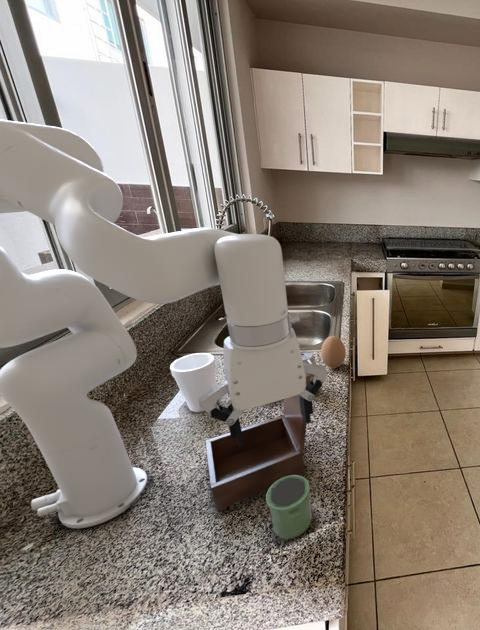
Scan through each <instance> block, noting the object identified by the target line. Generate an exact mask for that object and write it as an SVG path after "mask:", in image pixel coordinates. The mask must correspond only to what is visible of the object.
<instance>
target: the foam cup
mask: <svg viewBox="0 0 480 630" xmlns="http://www.w3.org/2000/svg"><path fill="white" fill-rule="evenodd" d="M216 366H217V365H216V360H215V356H214V355H213V354H211V353H206V352H197V353H192V354H191V353H190V354H187V355H184V356H182V357H179V358H177V359H175V360H174V361H173V362H172V363H170V366H169V370H170V374H171V376H172V378H173V379H174V380H175V382H176V384H177V387H178V388H179V390H180V393H181V395H182V397H183V400H184V401H185V403H186V405H187V407H188V409H189V410H190V411H191V412H192V413H193V412H194V413H201V412H205V411H204V410H203V409H202V408H201V407H200V406H199V398H200V397H202V396H203V395H204V394H206V393H207V392H209V391H210V390H212V389H213V388H215V387H216V386H217V380H216V379H217V377H216ZM215 403H216V404H218V400H217V401H216V402H215Z"/></svg>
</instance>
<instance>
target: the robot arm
mask: <svg viewBox="0 0 480 630" xmlns="http://www.w3.org/2000/svg"><path fill="white" fill-rule="evenodd" d="M123 206H124V196H123V192H122V190H121V188H120V186H119V184H118V183H117V182H116V181H115V180H114V179H113V178H112V177H110V176H109V175H108V174H106V173H105V168H104V164H103V161H102V158H101V157H100V155H99V153H98V151H96V148H94V146H93V145H92V144H90V143H89V142H88V141H87V140H86V139H84V138H83V137H82V136H81V135H79V134H77V133H75V132H73V131H71V130H68V129H66V128H63V127H58V126H53V125H45V124H38V123H37V124H36V123H30V122H22V121H13V120H7V119H0V214H9V213H23V212H28V213H30V214H31V215H33V216H36V217H38V218H40V219H41V220H43V221H45V222H48V223H49V224H51V225H53V226H54V228H55V232H56V236H57V239H58V242H59V243H60V245H61V247H62V249H63V251H64V253H65V254H66V255H67V256H68V258H69V259H70V260H71V262H73V264H74V265H75V266H76V267H77V269H78V270H80V271H81V272H83V273H84V274H85V275H86V276H88V277H90V278H91V279H93V280H94V281H97V282H98V283H100V284H102V285H104V286H106V287H108V288H110V289H112V290H114V291H115V292H118V293H120V294H122V295H125V296H126V297H129V298H131V299H134V300H137V301H140V302H144V303H147V304H155V305H165V304H172V303H175V302H177V301H179V300H182V299H185V298H188V297H190V296H191V295H192V296H193V295H194V294H197V293H199V292H201V291H203V290H206V289H209V288H213V287H215V286H219V285H220V289H221V290H220V291H221V296H222V301H223V308H224V313H225V317H226V324H227V325H226V326H227V329H228V335H229V336H227V337H226V338H225V339H224V340H223V367H224V374H225V379H224V380H223V381H222V382H221V383H219V384H217V385H216V387H215V388H213V389H212V390H210V391H209V392H207V393H206V394H204V395H203V396H202V397H200V398H199V406H200V407H201V408H202V409H203V410H204V411H203V412H205V413H207V414H208V415H210V417H211V418H212V419H214V420H218V421H220V422H223V423H225V425H226V426H227V427H228V429H229V433H230V435H231V439H232V440H233V439H236V438H237V441H238V445H239V446H242V445H243V444H244V441H243V435H242V430H241V429H242V426H241V421H240V416H241V415H242V414H243V412H244V411H247V410H251V409H254V408H259V407H261V406H265V405H269V404H271V403H272V404H273V403H276V402H279V401H281V400H284V399H286V398H289V397H292V396H296V395H299V400H300V410H301V415H302V417H303V419H304V421H305V422H306V424H310V423H312V422H311V421H312V420H311V415H313V414H314V406H313V400H315V395H316V394H317V393H318V391H320V389H321V388H322V386H323V382H324V381H325V379H326V376H327V374H328V369H327V368H326V367H325V366H324V365H321V364H316V365H315V364H310V363H305V362H303V360H302V355H301V352H302V350H301V348H300V344H299V341H298V337H297V334H296V331H295V330H294V328H293V326H294V325H296V324H300V323H301V318H300V314H299V313H290V312H289V307H288V298H287V290H286V289H287V288H286V287H287V286H286V279H285V278H286V277H285V269H284V261H283V259H284V258H283V251H282V246H281V244H280V242H279V240H277V239H276V238H275V237H274V236H272V235H271V236H270V235H267V234H262V233H260V234H259V233H241V234H239V233H235V232H231V231H227V230H223V229H219V228H214V227H196V228H190V229H186V230H181V231H180V230H177V231H173V232H168V233H163V234H155V235H152V236H147V237H143V236H141V235H137V234H135V233H133V232H131V231H129V230H127V229H125V228H123V227H120V226H119V225H117V224H115V223H116V222H117V221H118V219H119V218H120V215H121V213H122V211H123ZM85 275H82V274H80V273H79V272H76V271H74V270H69V269H61V268H59V269H50V270H45V271H40V272H36V273H35V272H34V273H32V274H26V273H24V272H23V271H22V270H21V269H20V268H19V267H18V266H17V264H16V263H15V262H14V260H13V259H12V257H11V255H9V253H8V252H7V251H6V250H5V248H3V246H1V245H0V349H4V348H5V349H6V348H10V347H15V346H19V345H23V344H25V343H28V342H31V341H34V340H36V339H39V338H42V337H45V336H47V335H50V334H53V333H55V332H58V331H61V330H63V329H66V328H67V329H68V330H69V331H70V332H71V333H72V334H70V335H67V336H65V337H62V338H60V339H57V340H54V341H52V342H51V341H50V342H49V343H47V344H44V345H42V346H39V347H37V348H34V349H32V350H29V351H26V352H24V353H22V354H20V355H18V356H17V357H15V358H13V359H10V360H9V361H8V362H7V363H6V364H4V365H3V366H2V367H1V368H0V396H1V397H2V399H3V400H4V401H5V403H7V404H8V405H9V406H10V408H12V409H13V410H14V411H15V413H16V414H17V415H18V416H19V418H20V419H21V420H22V421H23V423H24V424H25V426H26V427H27V430H29V432H30V434H31V436H32V438H33V440H34V442H35V444H36V446H37V448H38V449H39V451H40V453H41V455H42V458H43V459H44V461H45V463H46V465H47V467H48V469H49V471H50V472H51V475H52V477H53V478H54V481H55V483H56V484H57V487H58V489H57V490H56V491H55V492H53V493H50V494H46V495H43V496H39V497H37V498H34V499H32V500H31V502H30V505H31V506H30V507H31V510H32V511H36V515H37V516H38V517H39V518H41V517H44V516H46V515H48V514H51V513H53V512H58V515H57V516H58V519H59V521H60V523H61V524H62V525H63V526H64V527H66V528H70V529H84V528H91V527H94V526H97V525H100V524H102V523H105V522H107V521H110V520H112V519H114V518H115V517H118V516H119V515H120V514H122V513H124V512H125V511H127V510H128V509H129V508H130V507H131V504H132V503H133V502H134V501H136V499H137V498H139V497H140V496H141V495H142V493H143V491H144V490H145V488H146V486H147V485H148V475H147V473H146V471H145V470H144V469H142V468H140V467H135V466H133V465H132V462H131V459H130V457H129V454H128V452H127V449H126V447H125V444H124V442H123V439H122V436H121V434H120V431H119V428H118V425H117V423H116V419H115V418H114V416H113V414H112V411H111V409H110V408H109V407H108V406H107V405H106V404H105V403H103V402H101V401H98V400H94V399H91V398H89V396H88V394H89V393H90V392H91V391H93V390H95V389H96V388H98V387H99V386H101V385H102V384H104V383H106V382H108V381H110V380H111V379H114V378H115V377H117V376H118V375H120V374H121V373H124V372H125V371H126V370H128V369H129V368H131V367H132V366H133V365H134V363H135V362H136V360H137V358H138V357H137V356H138V351H137V346H136V344H135V342H134V340H133V338H132V337H131V335H130V333H129V332H128V330H127V329H126V327H125V326H124V324H123V322H122V321H121V320H120V318H119V317H118V315H117V313H116V312H115V310H114V309H113V307H112V306H111V304H110V303H109V301H108V299H106V297H105V296H104V294H103V293H102V291H101V290H100V288H98V287H97V285H96V284H95V283H94V282H92V280H90V278H88V277H86V276H85ZM305 373H307V374H313V375H315V376H314V378H313V379H312V380H311V381H310V382H309V384H308V385H306V377H305ZM227 394H228V396H229V402H228V403H227V404H226V406H223V405H220V404H218V403H215V402H216V401H217V402H218V401H219V400H220V399H222V398H223V397H225V396H226V395H227Z"/></svg>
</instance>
